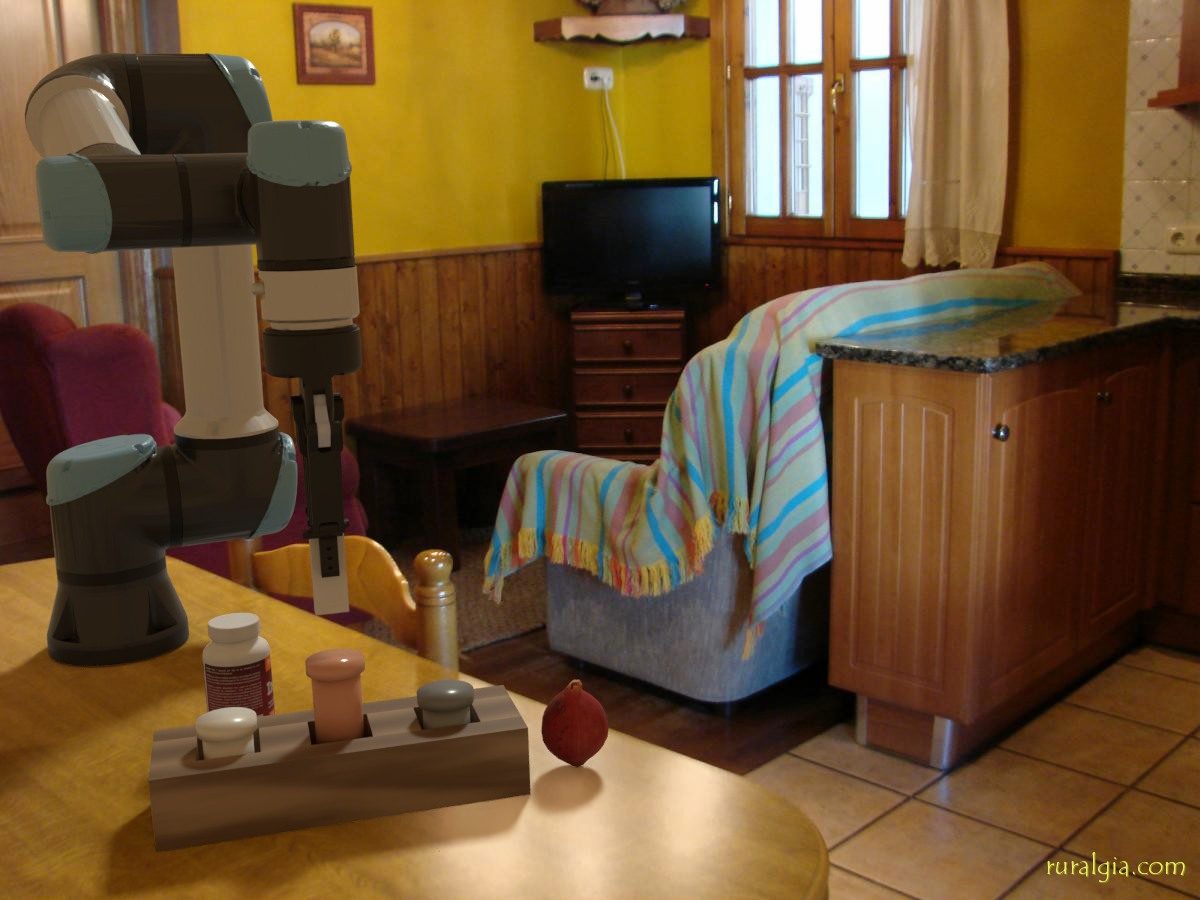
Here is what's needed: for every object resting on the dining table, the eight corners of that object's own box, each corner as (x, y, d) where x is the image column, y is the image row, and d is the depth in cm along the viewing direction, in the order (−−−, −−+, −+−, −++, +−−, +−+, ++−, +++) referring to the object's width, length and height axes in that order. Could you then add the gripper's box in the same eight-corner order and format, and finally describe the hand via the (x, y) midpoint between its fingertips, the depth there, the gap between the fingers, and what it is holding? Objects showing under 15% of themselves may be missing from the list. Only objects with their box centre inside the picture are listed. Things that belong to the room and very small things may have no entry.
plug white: (204, 801, 111) (195, 711, 109) (263, 792, 112) (255, 704, 110) (203, 827, 106) (194, 734, 105) (265, 818, 108) (257, 725, 106)
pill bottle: (286, 733, 125) (277, 622, 122) (221, 750, 121) (211, 636, 119) (263, 712, 130) (254, 605, 127) (200, 728, 126) (190, 618, 124)
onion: (560, 786, 112) (557, 698, 110) (532, 761, 117) (528, 676, 115) (620, 771, 115) (618, 684, 113) (590, 747, 120) (587, 663, 118)
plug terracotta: (310, 741, 112) (303, 652, 111) (367, 733, 114) (361, 645, 112) (314, 764, 108) (307, 672, 106) (373, 756, 109) (367, 665, 107)
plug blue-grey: (418, 770, 116) (413, 683, 114) (472, 762, 117) (467, 676, 115) (426, 793, 111) (421, 704, 109) (482, 785, 112) (478, 696, 111)
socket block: (160, 796, 112) (154, 730, 111) (506, 746, 120) (503, 684, 119) (155, 852, 103) (148, 780, 102) (530, 794, 111) (528, 727, 110)
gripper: (259, 318, 109) (281, 593, 113) (264, 334, 96) (289, 641, 101) (351, 313, 111) (369, 583, 115) (368, 328, 98) (387, 630, 103)
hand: (331, 610), depth 108 cm, fingers closed
